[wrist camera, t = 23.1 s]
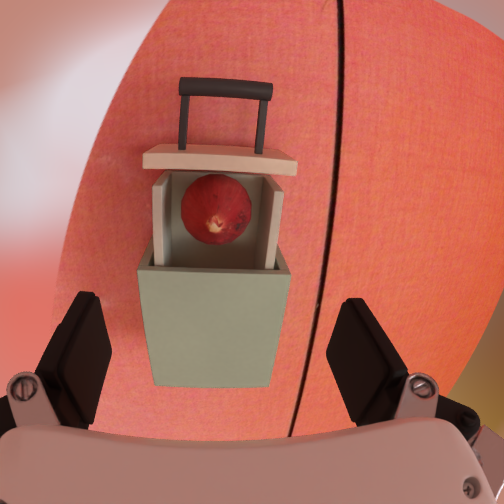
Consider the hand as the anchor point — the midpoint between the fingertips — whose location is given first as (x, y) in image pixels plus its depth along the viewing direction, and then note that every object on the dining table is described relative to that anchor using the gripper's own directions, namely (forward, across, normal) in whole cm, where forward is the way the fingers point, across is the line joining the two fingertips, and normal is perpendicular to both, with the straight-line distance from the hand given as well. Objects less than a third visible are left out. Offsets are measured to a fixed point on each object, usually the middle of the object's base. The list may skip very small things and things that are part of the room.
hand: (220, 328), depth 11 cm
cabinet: (+20, 0, +12) cm, 24 cm away
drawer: (+20, 0, 0) cm, 20 cm away
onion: (+19, 0, +1) cm, 19 cm away
